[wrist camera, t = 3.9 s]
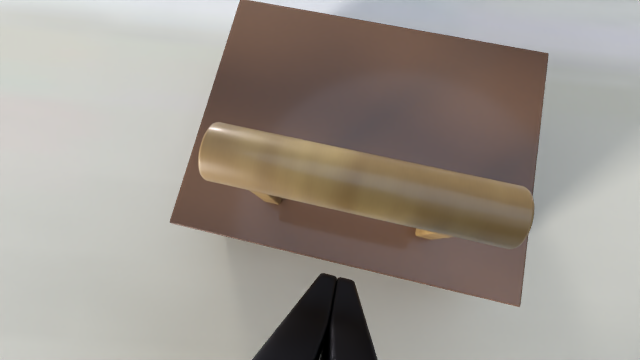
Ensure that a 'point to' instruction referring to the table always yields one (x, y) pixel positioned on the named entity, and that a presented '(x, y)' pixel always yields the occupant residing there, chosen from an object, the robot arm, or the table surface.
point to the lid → (371, 148)
